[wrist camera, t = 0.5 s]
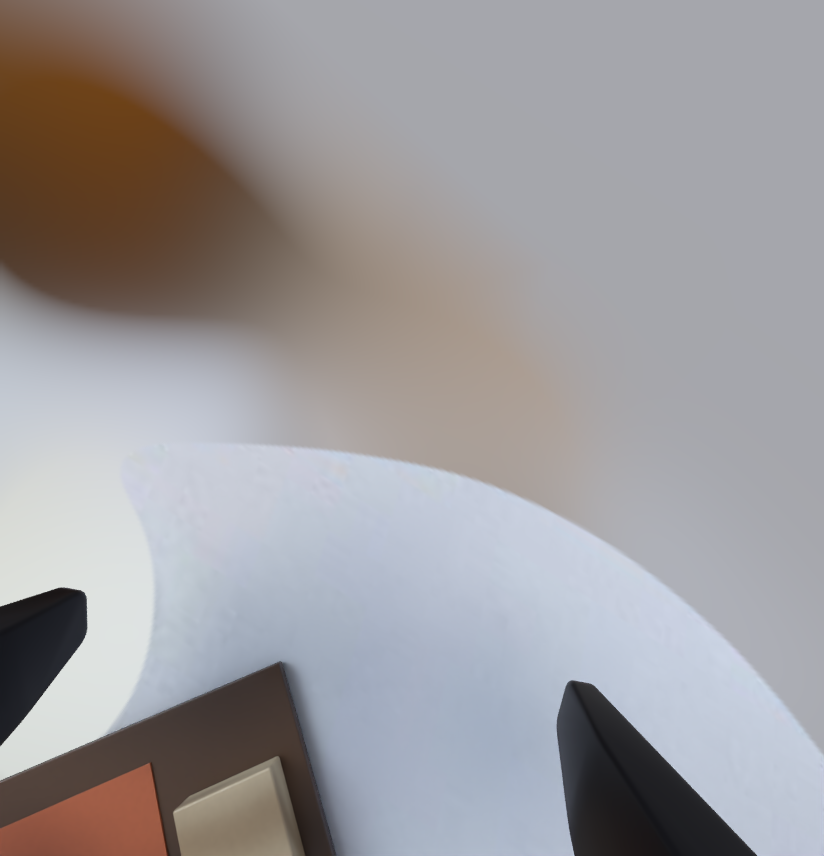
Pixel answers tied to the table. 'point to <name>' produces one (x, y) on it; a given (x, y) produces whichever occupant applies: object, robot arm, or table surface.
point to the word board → (178, 784)
